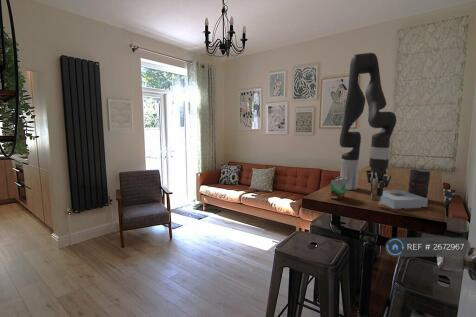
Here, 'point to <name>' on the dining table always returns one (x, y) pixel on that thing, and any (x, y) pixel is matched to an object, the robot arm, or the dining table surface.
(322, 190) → the dining table surface
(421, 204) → the socket board
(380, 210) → the dining table surface
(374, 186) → the peg
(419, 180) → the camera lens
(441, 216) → the dining table surface
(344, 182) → the food container
